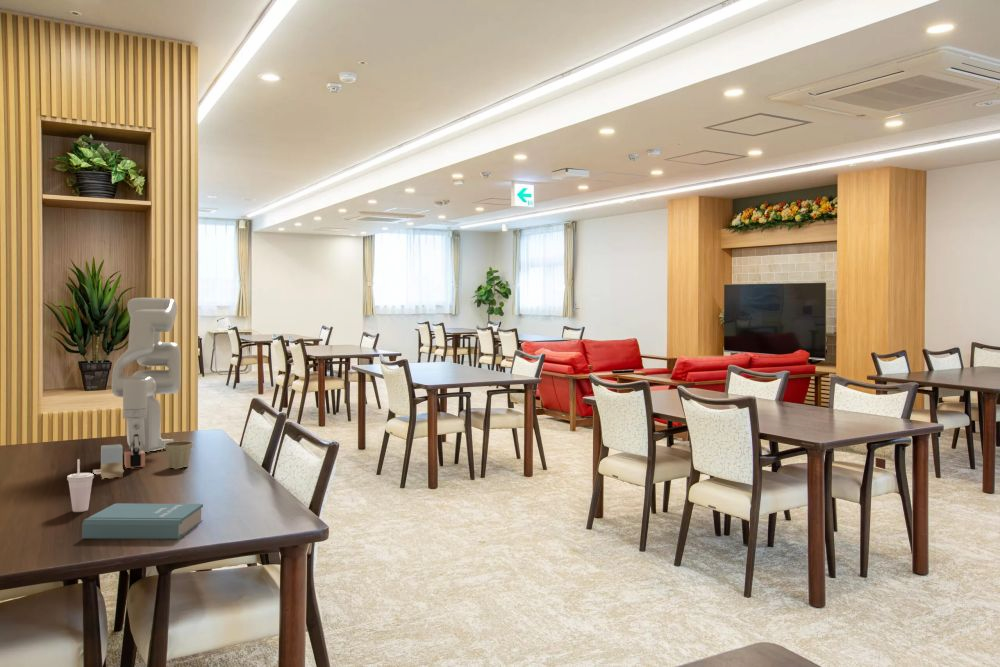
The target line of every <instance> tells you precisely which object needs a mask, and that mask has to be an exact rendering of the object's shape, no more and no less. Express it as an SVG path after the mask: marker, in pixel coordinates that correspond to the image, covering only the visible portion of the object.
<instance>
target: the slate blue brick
mask: <svg viewBox="0 0 1000 667" xmlns="http://www.w3.org/2000/svg"><path fill="white" fill-rule="evenodd" d="M123 449H124V448H123V445H122V443H118V444H117V443H116V444H107V445H106V444H105V445H100V463H101V462H102V464H106V463H118V462H123V460H124V458H123V456H124V455H123V454H124V453H123V452H124V450H123Z"/></svg>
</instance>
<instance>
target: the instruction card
mask: <svg viewBox="0 0 1000 667" xmlns="http://www.w3.org/2000/svg"><path fill="white" fill-rule="evenodd" d="M92 473H94V474H96V475H101V468H99V469H92ZM123 473H125V470H124V469H123Z"/></svg>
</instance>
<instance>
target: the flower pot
mask: <svg viewBox="0 0 1000 667" xmlns="http://www.w3.org/2000/svg"><path fill="white" fill-rule="evenodd" d="M193 444H194V442H193V441H189V440H178V441H177V440H176V441H175V440H174V442H168V443H165V444H164V446H165V449H164V450H165V452H166V456H167V463H168V464H167V465H168V468H169V467H170V468H178V467H184V466H188V467H189V463H190V456H191V449H192V447H193ZM170 468H169V469H170Z"/></svg>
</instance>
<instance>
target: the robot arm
mask: <svg viewBox="0 0 1000 667" xmlns="http://www.w3.org/2000/svg"><path fill="white" fill-rule="evenodd" d="M126 307H127V308H126V309H127V312H128V315H129V317H130V318H129V329H128V330H129V333H128V344H127V345H128V347H127V349H126V350H125V351H124V352H123V353H122V354H121V355H120V356H119V357H118V358H117V360H116V361H115V363H114V364H113V369H112V373H111V384H110V385H111V393H112V394H113V396H115V397H117V398H122V419H124V420H126V439H127V445H128V446H129V447H128V448H129V449H128V450H129V451H131V455H130V466H131V467H135V466H141V454H140V451H141V450H143V451H144V452H147V453H150V452H149V451H156V450H160V449H163V448H165V446H164V444H165V443H168V442H175V440H174V439H173V438H171V439H169V438H167V439H164V438H162V436H161V434H162V432H161V431H162V430H161V429H162V426H161V425H162V424H161V423H162V421H161V420H162V406H161V403H160V401H159V400H158V399H157V398H156V396H155V395H166V394H168V395H172V394H177V393H178V392H180V390H181V382H182V379H181V378H182V376H181V375H182V369H181V368H182V365H181V364H182V363H181V362H182V359H181V358H182V357H181V354H182V353H181V348H180V345H179V344H178V343H176V342H171V341H169V342H168V341H167V342H165V341H163V342H162V341H161V333H166V332H170V331H172V330H173V327H174V324H175V321H176V316H177V313H178V312H177V311H178V305H177V302H176V300H174V299H173V298H170V297H168V298H167V297H166V298H165V297H134V298H131V299H129V300H128V301H127V306H126ZM134 361H136V362H137V364H138V365H139V366H143V367H166V368H167V369H142V370H137V371H135V372H134V373H133V374H132V375H122V374H123V370H124V369H125V368H126V367H127V365H129V364H130V363H132V362H134Z"/></svg>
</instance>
